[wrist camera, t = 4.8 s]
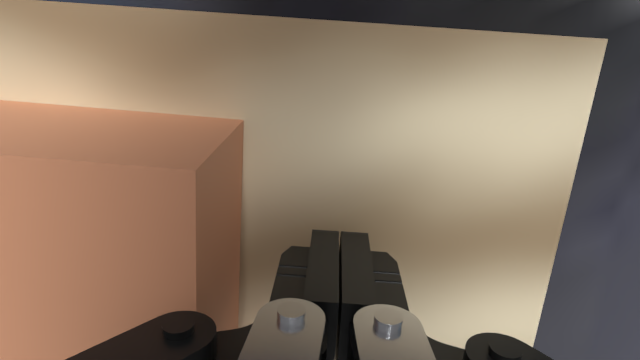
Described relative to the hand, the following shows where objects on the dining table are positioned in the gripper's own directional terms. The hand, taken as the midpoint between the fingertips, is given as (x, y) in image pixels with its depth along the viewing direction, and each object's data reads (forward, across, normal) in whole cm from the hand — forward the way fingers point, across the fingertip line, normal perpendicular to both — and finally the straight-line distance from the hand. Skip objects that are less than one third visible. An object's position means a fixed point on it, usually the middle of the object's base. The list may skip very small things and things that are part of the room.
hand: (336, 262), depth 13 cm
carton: (+1, +6, 0) cm, 6 cm away
